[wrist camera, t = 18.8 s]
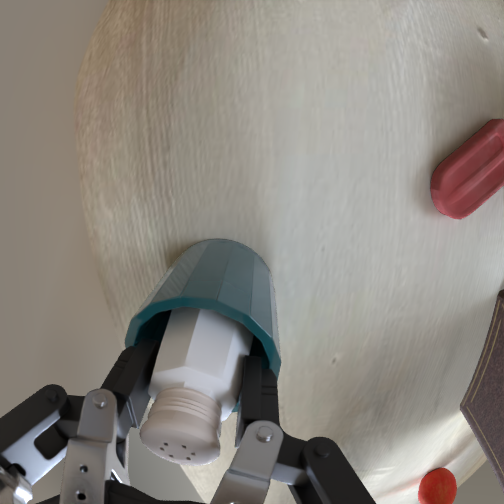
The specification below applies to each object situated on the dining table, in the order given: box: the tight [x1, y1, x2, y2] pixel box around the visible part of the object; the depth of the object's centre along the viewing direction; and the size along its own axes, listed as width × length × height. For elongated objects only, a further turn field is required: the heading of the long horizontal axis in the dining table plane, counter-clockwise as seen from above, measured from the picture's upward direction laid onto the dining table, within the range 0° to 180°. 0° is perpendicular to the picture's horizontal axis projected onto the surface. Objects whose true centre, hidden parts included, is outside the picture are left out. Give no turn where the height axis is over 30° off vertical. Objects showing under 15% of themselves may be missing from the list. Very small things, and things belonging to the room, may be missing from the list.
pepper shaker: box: [140, 307, 254, 466], centre depth 12 cm, size 5×5×11 cm
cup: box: [125, 239, 281, 413], centre depth 16 cm, size 7×7×8 cm
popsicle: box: [430, 119, 504, 219], centre depth 14 cm, size 4×2×15 cm
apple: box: [418, 468, 457, 504], centre depth 28 cm, size 8×8×11 cm
